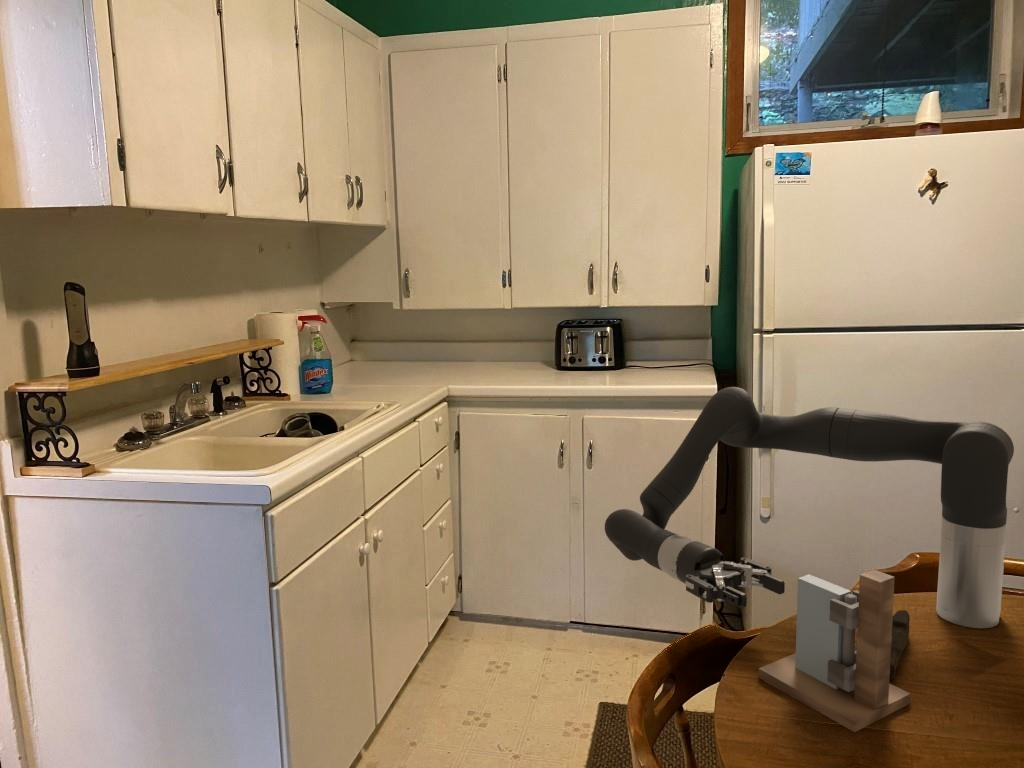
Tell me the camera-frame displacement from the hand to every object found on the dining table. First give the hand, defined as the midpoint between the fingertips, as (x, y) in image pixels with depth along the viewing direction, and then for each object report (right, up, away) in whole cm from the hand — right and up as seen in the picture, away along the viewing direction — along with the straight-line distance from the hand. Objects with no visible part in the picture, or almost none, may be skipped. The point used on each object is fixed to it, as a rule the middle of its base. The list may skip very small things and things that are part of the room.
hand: (764, 595), depth 119 cm
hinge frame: (+7, -11, -9) cm, 16 cm away
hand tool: (+20, -10, +1) cm, 22 cm away
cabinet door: (+6, -10, -8) cm, 14 cm away
